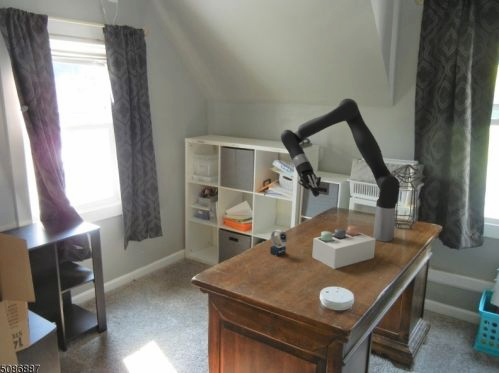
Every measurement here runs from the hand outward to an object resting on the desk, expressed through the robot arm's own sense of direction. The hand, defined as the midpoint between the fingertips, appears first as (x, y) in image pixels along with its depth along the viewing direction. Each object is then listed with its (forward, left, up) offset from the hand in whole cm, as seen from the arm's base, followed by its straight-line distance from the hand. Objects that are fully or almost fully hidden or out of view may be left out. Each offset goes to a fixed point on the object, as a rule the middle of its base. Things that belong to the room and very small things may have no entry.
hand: (317, 195), depth 193 cm
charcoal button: (-2, +14, -17) cm, 22 cm away
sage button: (+6, +14, -17) cm, 23 cm away
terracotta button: (-10, +14, -17) cm, 24 cm away
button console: (-2, +17, -25) cm, 30 cm away
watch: (+21, -1, -25) cm, 33 cm away
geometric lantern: (-63, 0, -25) cm, 68 cm away
